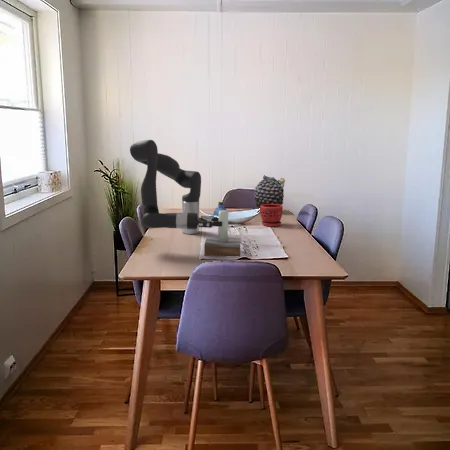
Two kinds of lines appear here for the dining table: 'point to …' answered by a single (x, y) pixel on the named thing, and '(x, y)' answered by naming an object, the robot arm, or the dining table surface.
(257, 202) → the round potted cactus
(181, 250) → the dining table surface
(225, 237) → the pale green cylinder
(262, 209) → the plant pot
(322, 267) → the dining table surface
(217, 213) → the perfume bottle
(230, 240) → the stand
